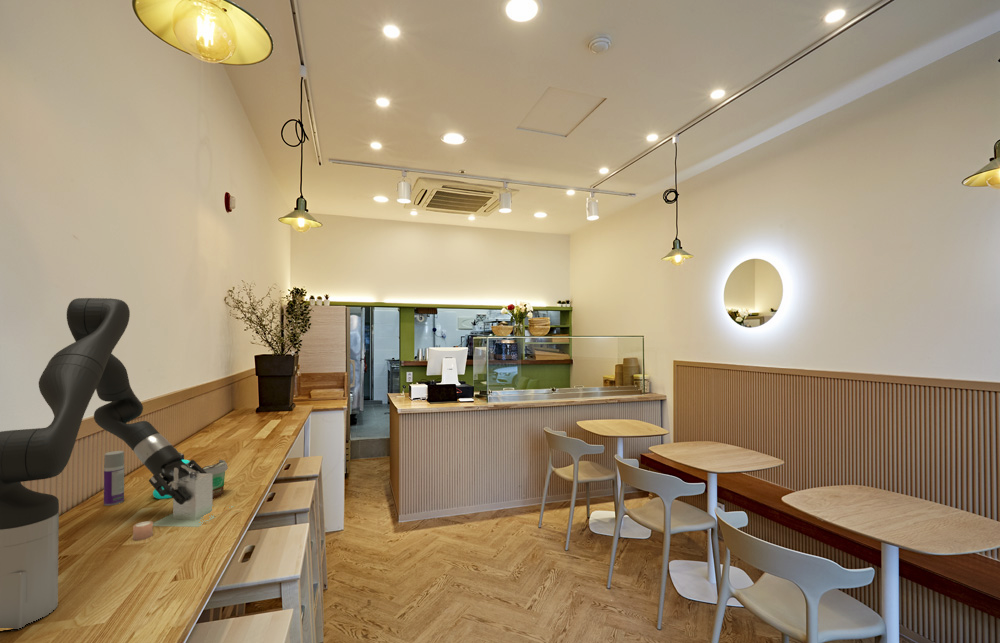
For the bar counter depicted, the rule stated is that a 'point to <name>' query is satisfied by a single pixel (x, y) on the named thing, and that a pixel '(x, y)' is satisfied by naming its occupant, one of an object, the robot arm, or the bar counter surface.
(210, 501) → the steel cover
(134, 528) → the terracotta ramekin
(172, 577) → the bar counter surface
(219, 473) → the food container
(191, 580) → the bar counter surface
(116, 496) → the container
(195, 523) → the rubber mat
